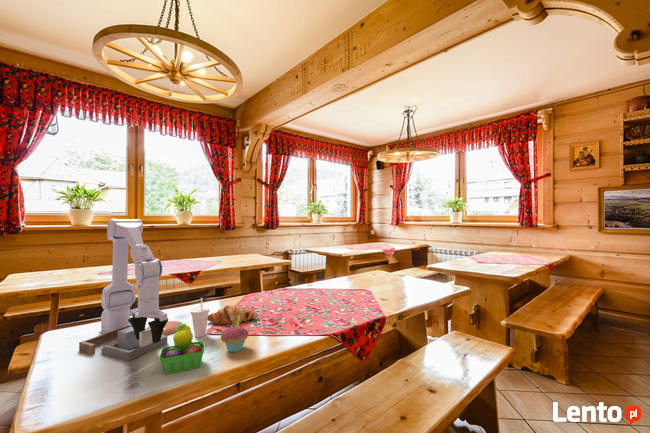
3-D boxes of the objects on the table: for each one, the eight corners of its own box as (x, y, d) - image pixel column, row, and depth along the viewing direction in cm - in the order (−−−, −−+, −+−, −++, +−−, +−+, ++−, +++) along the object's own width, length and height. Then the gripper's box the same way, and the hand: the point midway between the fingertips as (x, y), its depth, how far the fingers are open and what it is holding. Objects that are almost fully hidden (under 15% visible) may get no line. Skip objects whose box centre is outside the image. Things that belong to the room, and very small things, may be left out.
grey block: (117, 349, 93) (117, 331, 93) (130, 344, 97) (131, 326, 97) (126, 351, 91) (126, 333, 91) (139, 346, 95) (139, 328, 95)
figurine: (242, 335, 103) (241, 318, 104) (229, 337, 101) (228, 320, 102) (241, 332, 108) (240, 316, 109) (229, 334, 106) (228, 318, 107)
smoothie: (202, 340, 100) (202, 300, 100) (186, 338, 101) (186, 299, 101) (213, 333, 106) (213, 295, 106) (198, 331, 107) (198, 294, 107)
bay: (79, 351, 91) (79, 342, 91) (128, 333, 106) (128, 325, 106) (91, 355, 89) (91, 345, 89) (140, 335, 103) (140, 327, 103)
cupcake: (253, 345, 95) (253, 309, 95) (237, 357, 87) (237, 318, 87) (232, 341, 98) (231, 307, 98) (215, 352, 90) (215, 315, 90)
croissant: (257, 324, 124) (258, 306, 127) (258, 321, 115) (258, 301, 119) (206, 328, 119) (208, 308, 122) (202, 324, 110) (204, 303, 114)
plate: (136, 334, 105) (136, 330, 105) (167, 322, 117) (167, 319, 117) (161, 339, 100) (161, 336, 100) (190, 326, 112) (190, 323, 112)
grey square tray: (101, 353, 89) (101, 331, 89) (141, 337, 101) (141, 318, 101) (128, 361, 84) (129, 337, 84) (167, 343, 96) (167, 322, 96)
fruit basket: (158, 378, 76) (158, 336, 76) (162, 362, 84) (163, 324, 84) (204, 368, 80) (204, 329, 81) (204, 355, 89) (204, 319, 89)
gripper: (120, 298, 90) (120, 341, 90) (152, 303, 84) (152, 349, 84) (142, 293, 96) (142, 333, 96) (173, 297, 91) (172, 339, 91)
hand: (148, 340), depth 91 cm, fingers open, 7 cm apart
